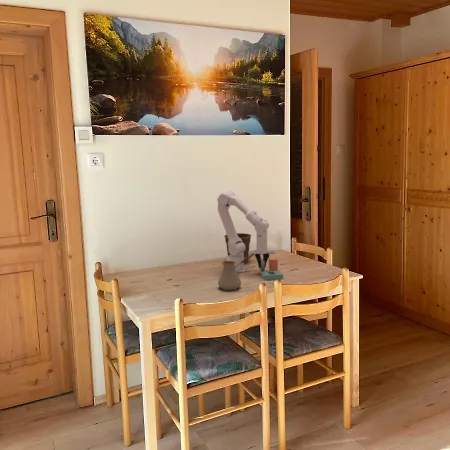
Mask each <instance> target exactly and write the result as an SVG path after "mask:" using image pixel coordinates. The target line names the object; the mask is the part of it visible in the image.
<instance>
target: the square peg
mask: <svg viewBox="0 0 450 450" xmlns="http://www.w3.org/2000/svg"><path fill="white" fill-rule="evenodd" d="M278 262H279V260H278V258H276V257H272V258H271V257H269V258H268V271H279V269H278V267H279V266H278V264H279V263H278Z"/></svg>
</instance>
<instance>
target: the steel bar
mask: <svg viewBox="0 0 450 450" xmlns="http://www.w3.org/2000/svg"><path fill="white" fill-rule="evenodd" d="M258 269H259V270H258V271H259V273H260V274H261V272H263V271H266V267H265V260H264V259H263V258H261V268H259V267H258Z"/></svg>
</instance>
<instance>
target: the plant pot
mask: <svg viewBox="0 0 450 450" xmlns="http://www.w3.org/2000/svg"><path fill="white" fill-rule="evenodd" d="M237 235H238V237H239V238H241V240H242V242H243V243H244V244H245V246H246V249H245V251H244V259H245V258H247V257H249V256H250V255H248V251H250V243H251V237H252V234H249V233H245V232H244V233H243V232H241V233H240V232H237ZM223 236H224V239H225V244H226V251H227V252H226V253H227V256H229V255H231V254H230V253H229V250H228V249H229V247H228V241H229V239H228V236H227V234H225V235H223ZM249 259H250V258H249ZM249 259H248V260H247V261H245V262H244V264H245V263H248V262H249V261H250V260H249Z"/></svg>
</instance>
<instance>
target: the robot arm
mask: <svg viewBox="0 0 450 450" xmlns="http://www.w3.org/2000/svg"><path fill="white" fill-rule="evenodd" d="M216 199H217V211H218V215H219V217H220V220H221V222H222V225H223V228H224V231H225V235H227V236H228V239H229V241H228V247H229V249H228V250H229V253H230V254H231V255H229V256H228V255H226V261H234V262H236V264H235V266H236V265H237V264H239V263H240V262H241V261H243V260H244V251H245V249H246V246H245V244H244V243H243V242H242V240H241V238H239V237H238V235H237V233H238V232H237V230H236V226H235V225H234V223H233V220H232V217H231V214H230V212H229V209H230V208H231V206H234V207H235V208H237V209H238V210H239V211H240V212H241V213H243V214H244V215H245V219H246V220H247V221H248V222H249V223H250V224H251V225H252V226H253V227H254V230H255V232H256V250H255V249H254V250H249V251H248V255H249V256H251V255H252V254H254V255H253V256H254V258H255V259H256V261H257V265H258V269H259V268H261V259H264V260H265V268H266V266H267V262H268V261H269V258H270V255H276V250H275V249H268V229H269V227H270V224H269V222H268V221H267V220H266V219H264V218H263V217H260V216H259V215H258V214H257V213H258V212H257V211H256V210H255V211H254V210H250V209H249V208H248V207H247V206H246V204H244V203H243V202H242V200H241V199H240V198H239V196H238V195H237V194H236V193H234V192H233V191H228V192H222V193H219V195H218V197H217V198H216ZM261 255H262V256H261ZM235 269H236V271H237V273H243V272H245V273H246V272H247V271H246V268H245V263H244V262H243V263H242V264H240V265H239V266H237V267H236V268H235Z"/></svg>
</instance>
